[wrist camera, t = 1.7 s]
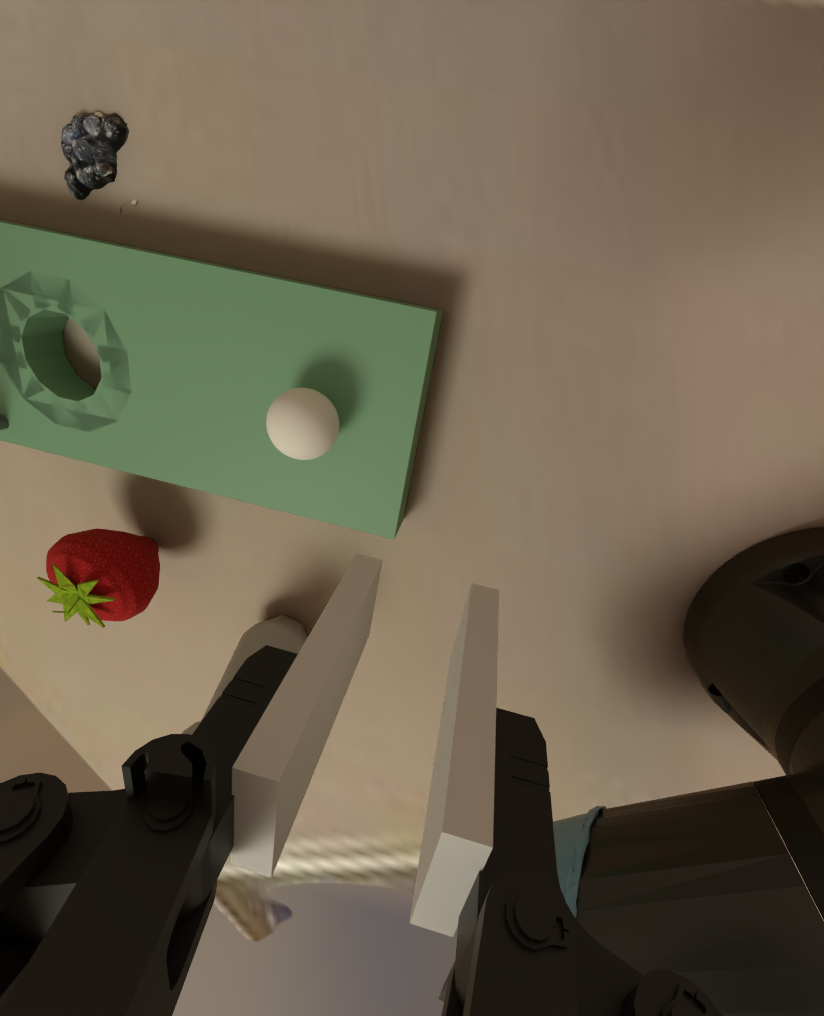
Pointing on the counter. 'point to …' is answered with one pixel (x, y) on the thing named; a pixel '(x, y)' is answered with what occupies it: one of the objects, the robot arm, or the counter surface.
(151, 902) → the robot arm
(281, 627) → the salt shaker
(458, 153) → the counter surface
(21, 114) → the counter surface
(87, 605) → the strawberry
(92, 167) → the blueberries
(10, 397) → the board
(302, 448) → the white ball
